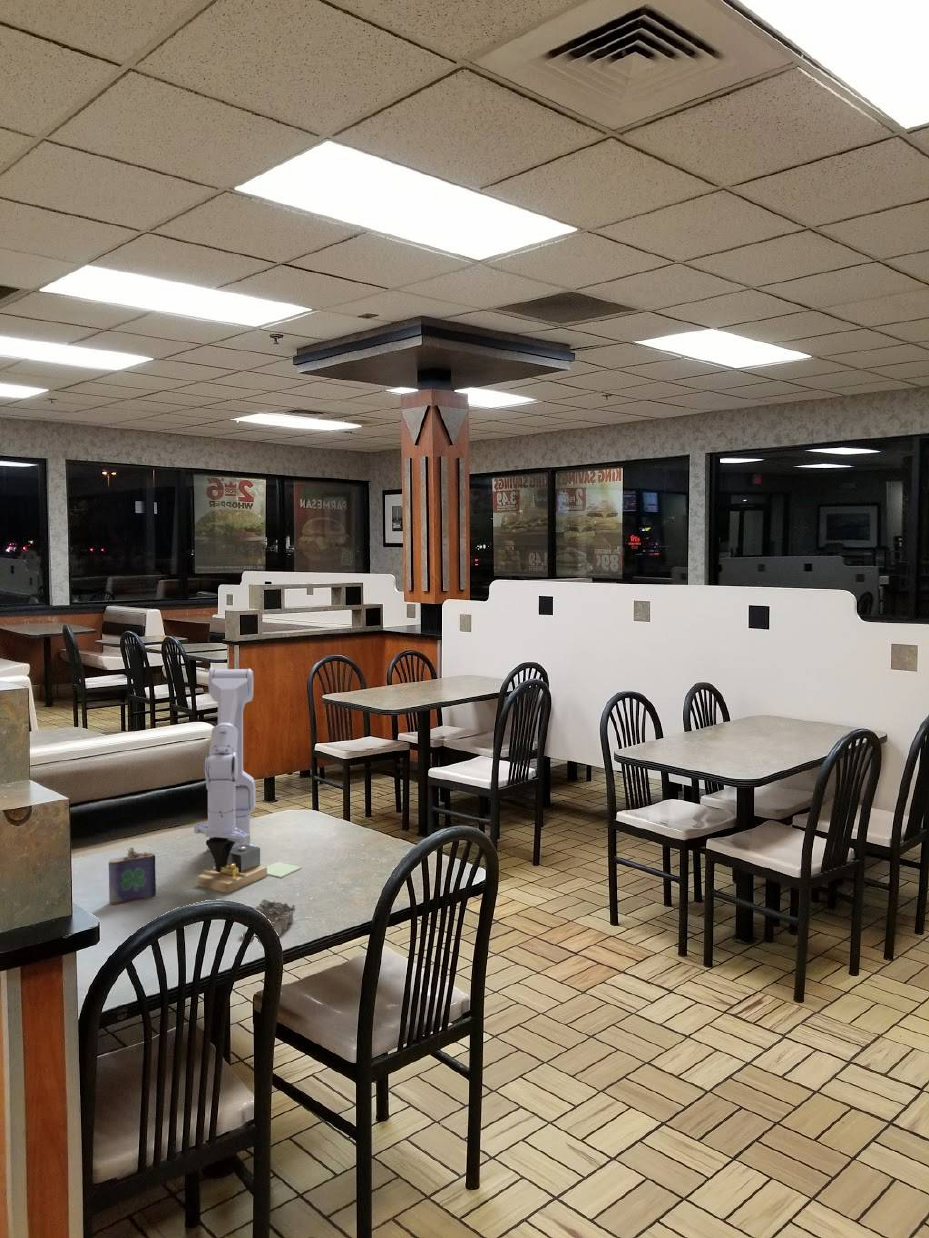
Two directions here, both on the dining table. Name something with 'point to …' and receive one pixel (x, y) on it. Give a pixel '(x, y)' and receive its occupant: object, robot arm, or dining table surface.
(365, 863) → the dining table surface
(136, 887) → the flask
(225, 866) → the bolt
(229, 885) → the wooden tray with rails
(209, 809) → the robot arm
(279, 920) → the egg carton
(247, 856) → the metal box with knob
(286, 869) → the mat
